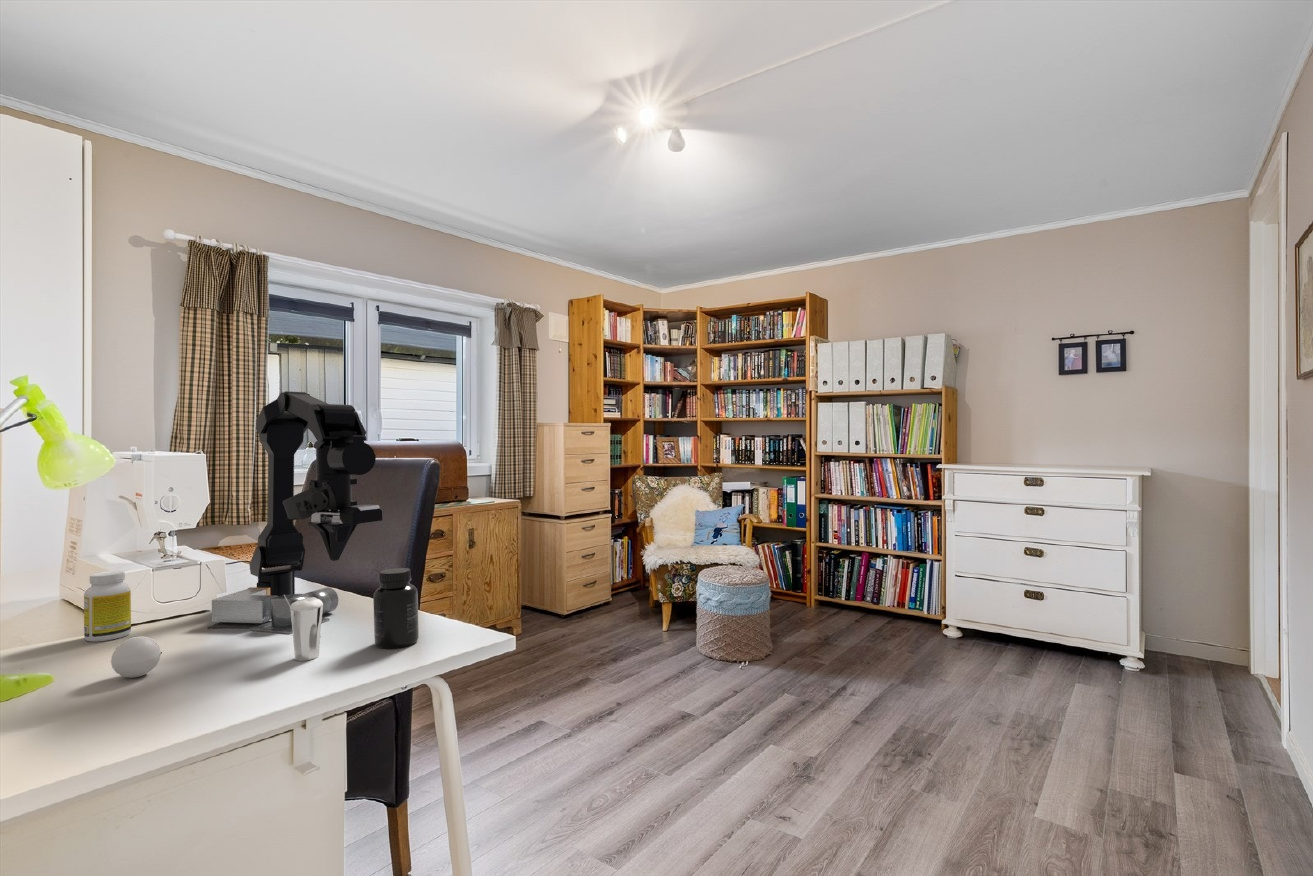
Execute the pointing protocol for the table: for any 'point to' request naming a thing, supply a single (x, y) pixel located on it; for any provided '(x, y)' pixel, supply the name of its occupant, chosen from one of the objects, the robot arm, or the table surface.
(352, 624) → the table surface
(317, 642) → the milkshake
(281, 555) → the robot arm
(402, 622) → the supplement bottle
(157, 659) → the white egg
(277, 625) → the duct stub
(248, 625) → the alignment strip
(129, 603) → the pill bottle
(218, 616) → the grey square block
